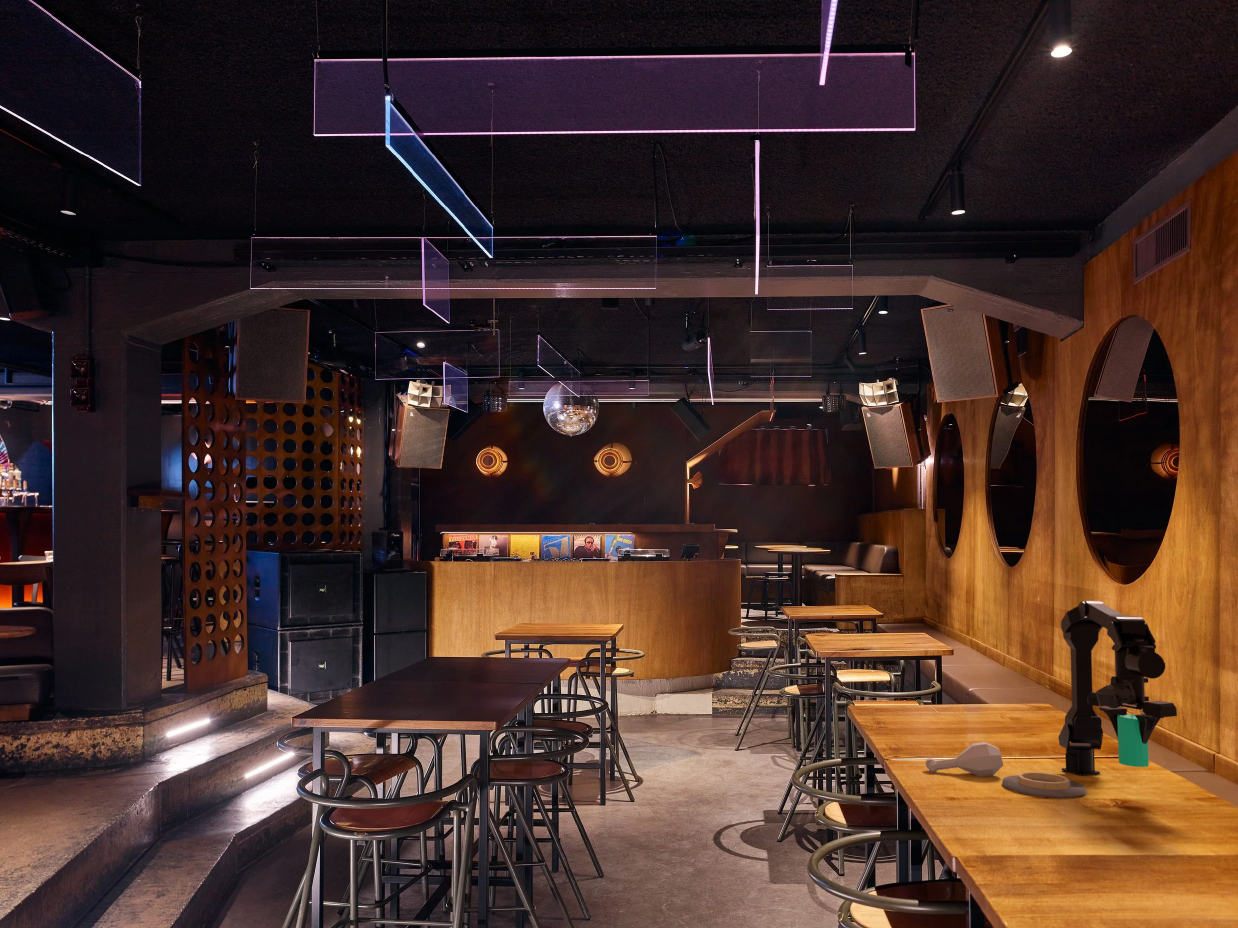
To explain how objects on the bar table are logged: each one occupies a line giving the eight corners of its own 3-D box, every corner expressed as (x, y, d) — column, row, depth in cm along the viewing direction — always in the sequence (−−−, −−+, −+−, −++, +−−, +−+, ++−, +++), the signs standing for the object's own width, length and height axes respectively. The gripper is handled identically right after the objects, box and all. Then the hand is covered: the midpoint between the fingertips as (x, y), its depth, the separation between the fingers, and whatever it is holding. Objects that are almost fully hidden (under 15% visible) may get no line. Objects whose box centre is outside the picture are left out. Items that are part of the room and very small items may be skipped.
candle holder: (1042, 776, 234) (1041, 766, 234) (1104, 794, 217) (1103, 783, 218) (985, 782, 227) (985, 771, 227) (1045, 801, 210) (1045, 789, 211)
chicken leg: (926, 770, 243) (921, 743, 241) (999, 761, 239) (994, 732, 237) (931, 791, 235) (925, 762, 233) (1007, 781, 231) (1001, 752, 229)
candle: (1146, 762, 214) (1144, 708, 215) (1151, 767, 208) (1149, 712, 209) (1116, 760, 216) (1114, 706, 217) (1121, 765, 210) (1119, 710, 211)
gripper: (1069, 668, 219) (1071, 737, 218) (1140, 679, 202) (1143, 754, 201) (1104, 667, 224) (1106, 734, 222) (1177, 677, 206) (1180, 750, 205)
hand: (1131, 743), depth 212 cm, fingers closed on candle, 5 cm apart
